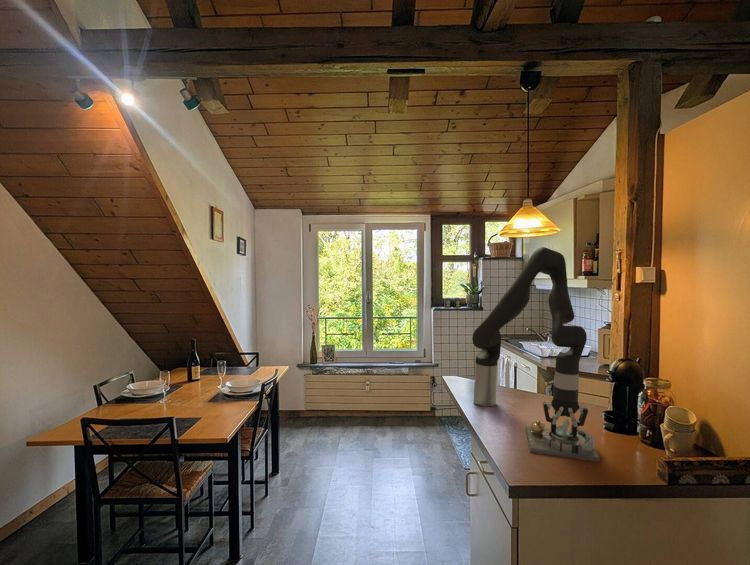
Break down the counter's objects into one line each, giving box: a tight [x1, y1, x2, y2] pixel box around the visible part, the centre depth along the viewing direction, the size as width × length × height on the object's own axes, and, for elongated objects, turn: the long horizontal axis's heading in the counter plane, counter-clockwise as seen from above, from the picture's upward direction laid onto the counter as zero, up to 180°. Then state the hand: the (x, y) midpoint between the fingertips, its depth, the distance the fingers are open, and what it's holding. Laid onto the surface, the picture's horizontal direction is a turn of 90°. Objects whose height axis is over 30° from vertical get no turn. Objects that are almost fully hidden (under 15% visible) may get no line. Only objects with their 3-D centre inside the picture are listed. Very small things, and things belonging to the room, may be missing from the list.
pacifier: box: [552, 418, 573, 440], centre depth 137 cm, size 7×6×6 cm
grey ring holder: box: [525, 420, 600, 463], centre depth 138 cm, size 20×18×6 cm
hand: (563, 435), depth 137 cm, fingers closed on pacifier, 5 cm apart
